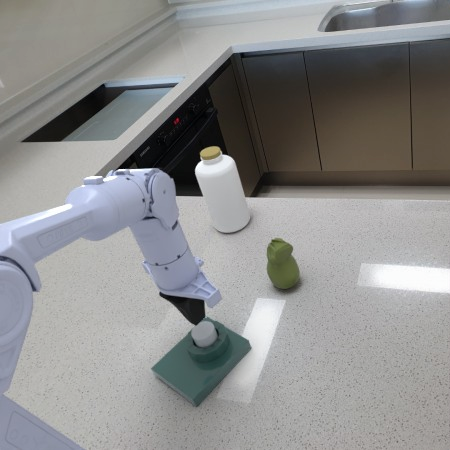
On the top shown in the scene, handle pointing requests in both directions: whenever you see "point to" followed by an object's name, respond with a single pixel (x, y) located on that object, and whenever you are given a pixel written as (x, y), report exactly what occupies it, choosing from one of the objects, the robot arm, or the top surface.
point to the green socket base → (201, 363)
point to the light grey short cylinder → (204, 334)
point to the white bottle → (222, 190)
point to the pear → (282, 264)
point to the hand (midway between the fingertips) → (197, 319)
